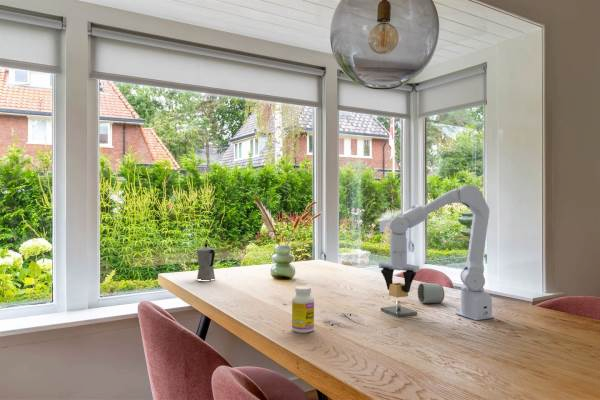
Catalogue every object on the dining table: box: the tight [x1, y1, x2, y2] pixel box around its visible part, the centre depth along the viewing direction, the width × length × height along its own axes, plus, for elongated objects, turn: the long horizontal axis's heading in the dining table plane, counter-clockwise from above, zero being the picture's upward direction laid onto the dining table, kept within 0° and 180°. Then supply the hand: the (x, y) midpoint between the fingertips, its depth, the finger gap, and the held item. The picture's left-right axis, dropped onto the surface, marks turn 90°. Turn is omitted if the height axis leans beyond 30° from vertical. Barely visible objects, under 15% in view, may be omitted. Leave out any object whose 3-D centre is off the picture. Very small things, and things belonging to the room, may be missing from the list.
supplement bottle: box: [291, 285, 315, 334], centre depth 135 cm, size 7×7×13 cm
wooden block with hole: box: [388, 282, 409, 298], centre depth 156 cm, size 5×5×4 cm
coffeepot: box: [196, 243, 216, 280], centre depth 219 cm, size 15×9×18 cm, turn 37°
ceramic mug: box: [417, 282, 445, 304], centre depth 172 cm, size 11×8×8 cm
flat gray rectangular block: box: [380, 300, 418, 318], centre depth 156 cm, size 10×8×4 cm
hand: (398, 290), depth 156 cm, fingers closed on wooden block with hole, 6 cm apart
